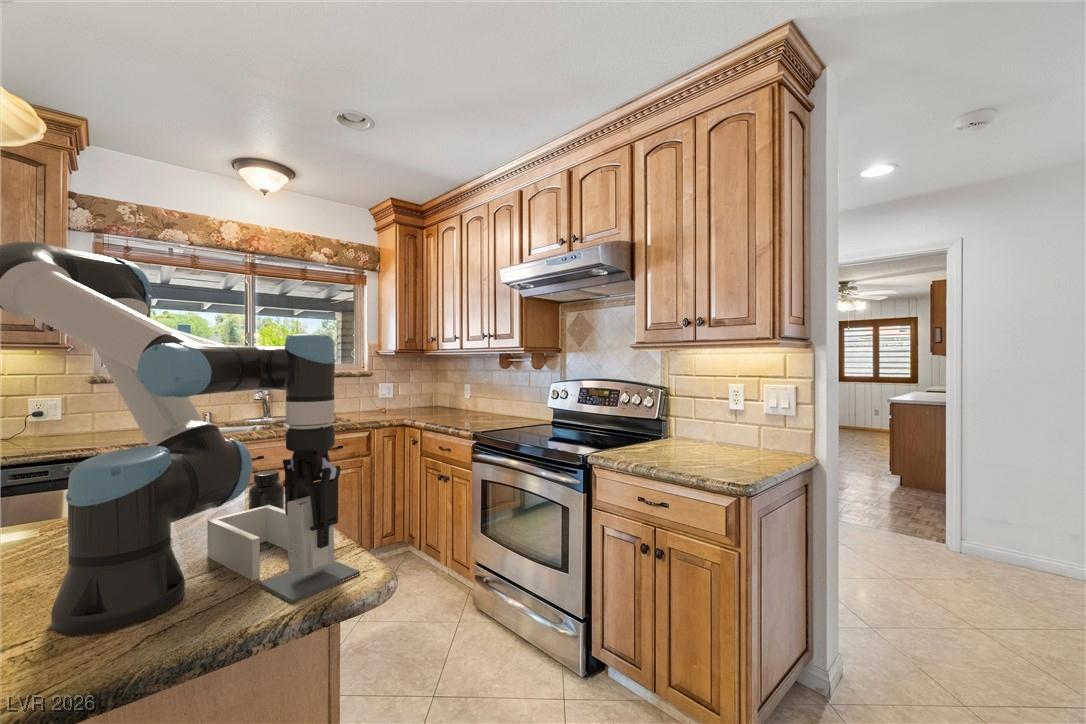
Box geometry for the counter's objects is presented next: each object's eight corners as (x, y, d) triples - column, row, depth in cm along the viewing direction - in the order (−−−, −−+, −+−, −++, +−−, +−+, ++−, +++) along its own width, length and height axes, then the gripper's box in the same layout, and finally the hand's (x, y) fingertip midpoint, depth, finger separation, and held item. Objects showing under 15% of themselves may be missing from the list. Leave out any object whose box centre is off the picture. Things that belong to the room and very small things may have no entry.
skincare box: (319, 559, 85) (318, 491, 85) (336, 564, 83) (334, 494, 83) (286, 573, 80) (285, 501, 80) (303, 578, 78) (302, 504, 78)
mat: (292, 603, 74) (292, 599, 74) (259, 586, 80) (259, 582, 80) (359, 574, 84) (359, 571, 84) (326, 560, 90) (326, 557, 89)
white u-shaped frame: (252, 580, 81) (252, 539, 81) (207, 556, 91) (207, 520, 91) (316, 557, 91) (315, 520, 91) (269, 538, 100) (269, 504, 100)
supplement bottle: (245, 525, 108) (245, 472, 108) (279, 518, 112) (279, 467, 112) (252, 534, 103) (252, 478, 103) (287, 526, 107) (287, 473, 107)
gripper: (361, 426, 80) (362, 566, 80) (303, 418, 89) (303, 543, 90) (319, 432, 73) (319, 584, 74) (261, 423, 83) (262, 557, 83)
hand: (310, 561), depth 82 cm, fingers closed on skincare box, 4 cm apart
